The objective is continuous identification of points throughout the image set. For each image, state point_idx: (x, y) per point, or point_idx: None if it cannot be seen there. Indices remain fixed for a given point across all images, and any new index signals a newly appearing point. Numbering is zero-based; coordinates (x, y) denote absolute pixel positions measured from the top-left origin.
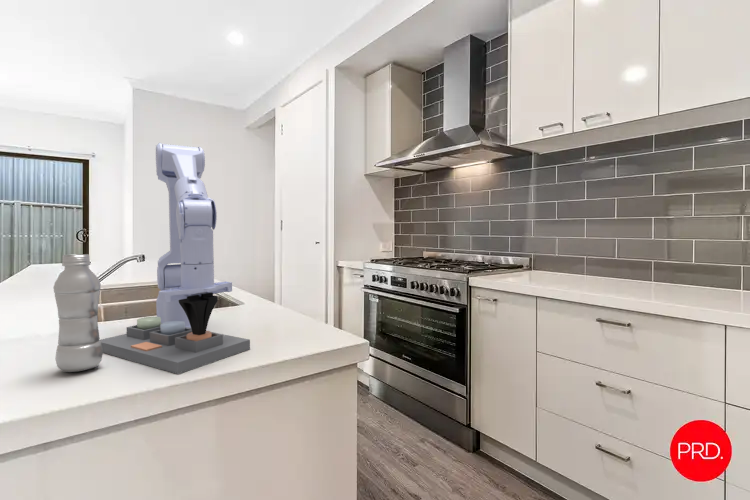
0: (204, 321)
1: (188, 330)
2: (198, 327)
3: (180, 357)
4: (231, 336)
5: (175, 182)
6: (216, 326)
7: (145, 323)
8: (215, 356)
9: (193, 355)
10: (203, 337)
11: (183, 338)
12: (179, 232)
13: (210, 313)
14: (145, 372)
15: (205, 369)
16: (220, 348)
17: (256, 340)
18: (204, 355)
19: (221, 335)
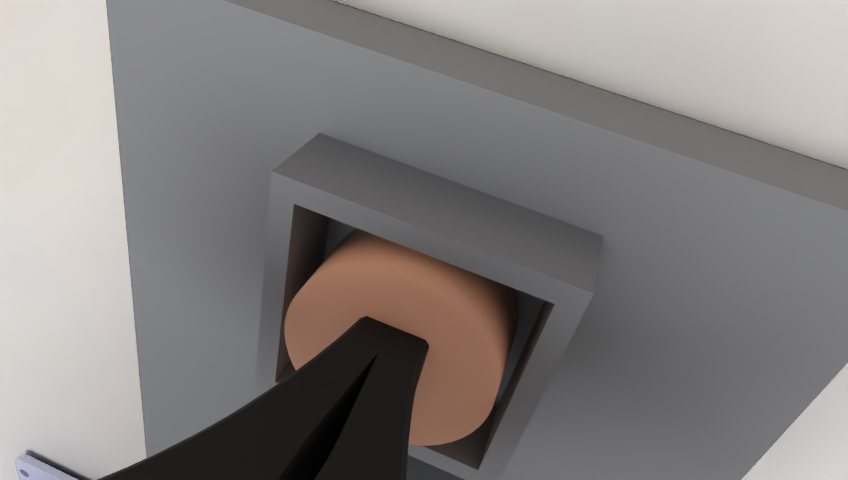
0: (332, 409)
1: None
2: (411, 406)
3: (767, 294)
4: (132, 179)
5: None
6: (4, 396)
7: None
8: (515, 77)
9: (694, 214)
10: (444, 289)
11: None
12: None
13: (209, 436)
14: (844, 422)
15: (757, 23)
16: (430, 83)
17: (3, 35)
18: (632, 133)
19: (287, 175)
